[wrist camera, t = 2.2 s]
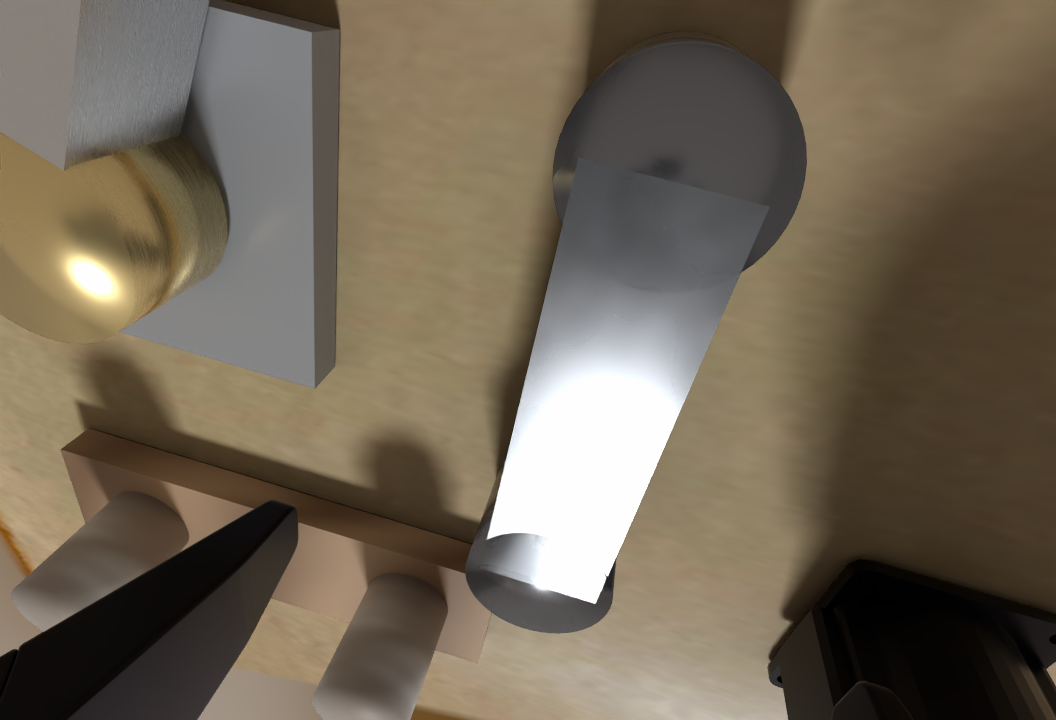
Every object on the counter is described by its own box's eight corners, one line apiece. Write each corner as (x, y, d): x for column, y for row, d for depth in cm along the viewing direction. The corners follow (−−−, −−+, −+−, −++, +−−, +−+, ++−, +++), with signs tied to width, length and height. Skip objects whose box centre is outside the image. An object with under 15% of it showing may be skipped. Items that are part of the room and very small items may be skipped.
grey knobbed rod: (606, 9, 12) (585, 13, 9) (807, 57, 11) (856, 79, 8) (487, 517, 20) (456, 607, 17) (602, 551, 20) (591, 649, 17)
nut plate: (339, 29, 13) (311, 32, 12) (334, 366, 18) (314, 388, 17) (-37, -66, 13) (-95, -70, 12) (61, 287, 18) (25, 304, 17)
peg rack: (507, 555, 20) (464, 705, 16) (485, 634, 23) (443, 780, 19) (89, 428, 21) (-58, 537, 17) (115, 518, 24) (-6, 633, 20)
